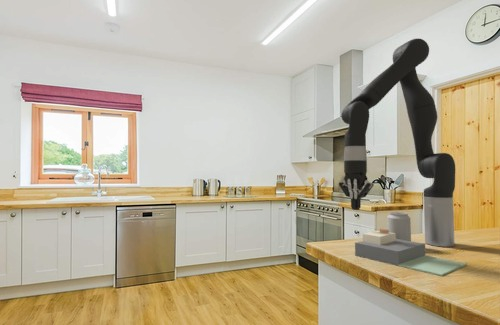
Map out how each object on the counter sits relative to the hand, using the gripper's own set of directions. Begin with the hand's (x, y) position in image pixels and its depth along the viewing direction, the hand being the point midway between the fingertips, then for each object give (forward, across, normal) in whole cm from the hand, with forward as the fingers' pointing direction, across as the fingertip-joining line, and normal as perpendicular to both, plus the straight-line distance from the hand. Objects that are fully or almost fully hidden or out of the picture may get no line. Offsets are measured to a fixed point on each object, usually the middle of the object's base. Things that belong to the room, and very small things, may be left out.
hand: (355, 209), depth 106 cm
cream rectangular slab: (+9, -8, 0) cm, 13 cm away
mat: (+13, -24, 0) cm, 28 cm away
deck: (+13, -12, 0) cm, 18 cm away
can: (+14, -7, -15) cm, 22 cm away
